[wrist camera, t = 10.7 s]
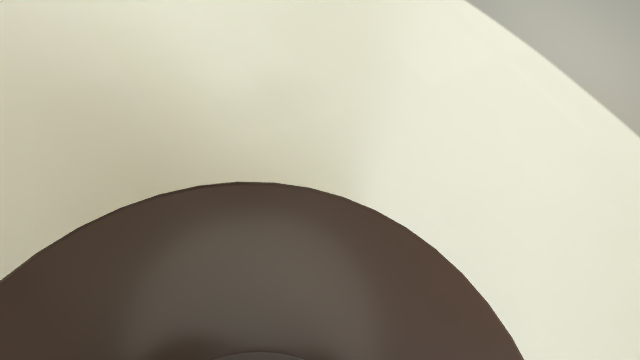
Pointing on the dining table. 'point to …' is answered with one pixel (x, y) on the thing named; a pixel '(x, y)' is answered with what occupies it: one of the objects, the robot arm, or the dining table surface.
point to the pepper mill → (245, 285)
